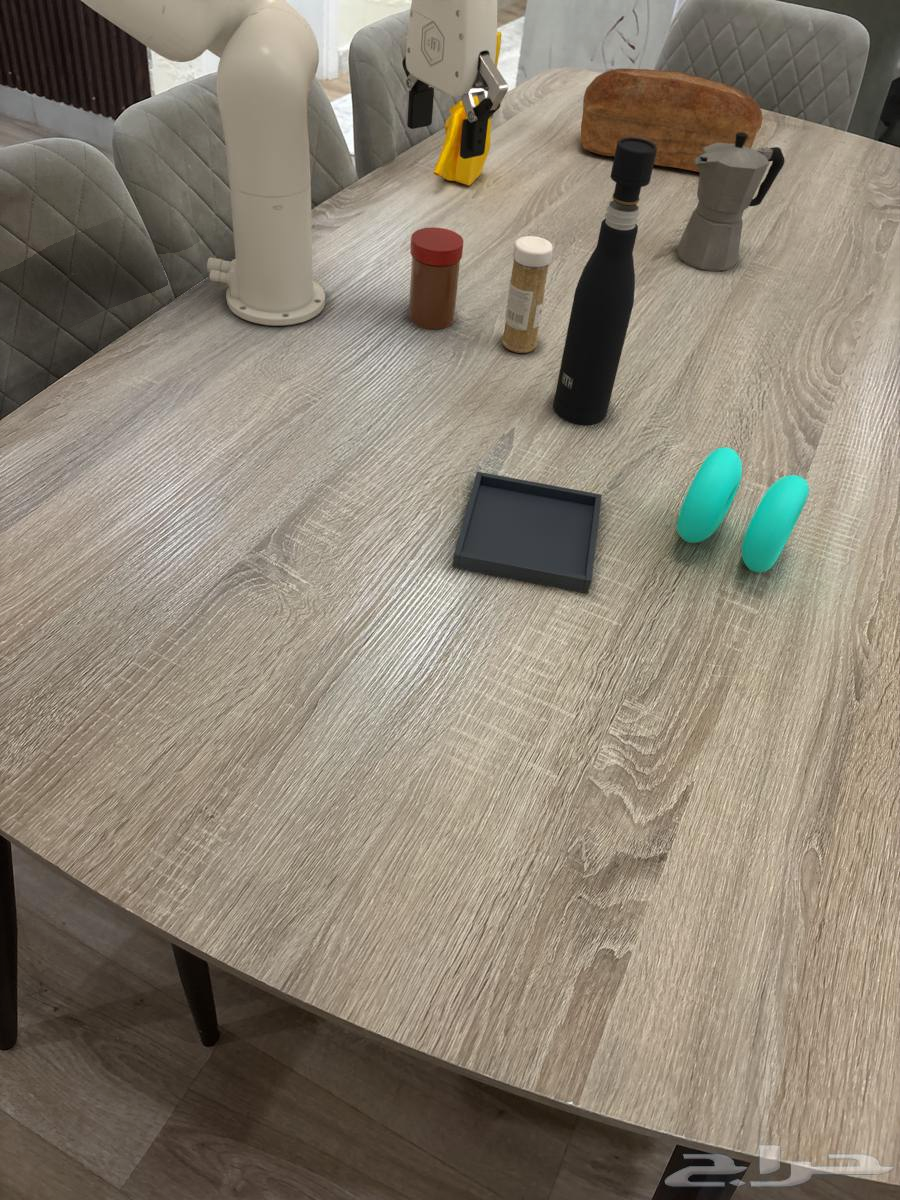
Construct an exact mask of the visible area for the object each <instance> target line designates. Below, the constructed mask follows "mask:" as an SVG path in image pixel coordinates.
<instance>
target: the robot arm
mask: <svg viewBox="0 0 900 1200" xmlns="http://www.w3.org/2000/svg"><path fill="white" fill-rule="evenodd" d="M80 2H83V3H84V4H85V5H86V6H88V7H89V8H90V9H92V10H93V11H94V12H95V13H97V14H98V15H100V16H102V17H103V18H105V19H106V20H107V21H109V22H110V23H112V24H114V25H115V26H117V27H118V28H119V29H120V30H122V31H123V32H125V33H127V34H128V35H129V36H131V37H132V38H134V39H136V40H137V41H138V42H140V43H141V44H142V45H144V46H145V47H146V48H148V49H149V50H151V51H152V52H154V53H155V54H157V55H158V56H160V57H163V58H165V59H167V60H168V61H171V62H176V63H187V62H192V61H194V60H196V59H197V58H199V57H201V56H202V55H203V54H204V53H205V52H206V51H209V52H210V53H212V54H213V55H215V56H216V57H218V58H219V62H218V66H217V72H216V84H215V85H216V97H217V98H216V99H217V103H218V104H217V105H218V109H219V114H220V115H219V116H220V120H221V125H222V131H223V137H224V143H225V152H226V162H227V165H226V166H227V173H228V182H229V184H228V185H229V196H230V207H231V220H232V231H233V243H234V257H235V259H234V258H233V259H232V260H231V261H229V260H224V258H223V259H222V258H218V257H217V258H216V257H211V256H209V258H208V259H207V262H206V271H207V272H208V274H209V281H210V282H214V283H223V284H226V285H227V286H228V287H227V290H226V292H225V293H226V294H225V295H226V296H225V297H226V304H227V306H228V308H229V310H230V311H231V312H232V313H233V314H234V315H236V316H237V317H239V318H240V319H243V320H245V321H248V322H251V323H253V324H258V325H263V326H272V327H273V326H274V327H278V326H280V327H281V326H283V327H284V326H291V325H292V326H293V325H297V324H303V323H305V322H308V321H309V320H311V319H314V318H315V317H317V316H318V315H319V314H320V313H321V312H322V311H323V310H324V308H325V305H326V292H325V290H324V288H323V287H322V286H321V284H319V283H318V282H317V281H315V280H314V271H313V270H314V268H313V266H314V265H313V225H312V222H313V221H312V220H313V219H312V181H311V151H310V138H309V127H308V96H309V93H310V90H311V87H312V84H313V82H314V80H315V77H316V75H317V72H318V68H319V67H318V66H319V61H320V51H319V50H320V49H319V45H318V40H317V38H316V35H315V32H314V30H313V29H312V27H311V25H310V23H309V22H308V21H307V20H306V18H304V16H303V15H302V14H301V13H300V12H298V10H297V9H295V8H294V7H293V6H292V5H290V4H289V3H288V2H286V1H285V0H80ZM410 3H411V4H410V10H409V19H408V26H407V33H406V34H404V35H402V36H400V37H399V39H398V45H399V48H400V53H401V57H402V67H403V68H402V69H403V71H404V73H405V75H406V76H405V77H406V79H405V86H406V88H407V89H408V104H407V121H406V122H407V123H406V126H407V127H408V129H411V130H414V129H420V128H424V127H429V126H431V125H432V123H433V114H434V113H433V111H434V99H435V90H437V91H439V92H441V93H443V94H445V95H447V96H449V97H451V98H461V101H462V102H463V105H464V108H465V111H466V115H467V118H468V119H464V120H463V123H462V133H461V144H460V157H462V158H463V159H467V158H472V157H476V156H480V155H483V154H484V152H485V143H486V135H487V126H488V119H491V120H492V118H493V117H494V114H495V113H496V112H497V111H498V110H500V108H501V106H502V105H501V104H502V102H503V100H504V98H505V97H506V95H507V93H508V91H509V85H508V83H507V82H506V80H505V78H504V77H503V75H502V73H501V72H500V71H499V69H498V66H497V67H496V66H495V56H496V43H497V31H498V0H411V2H410ZM487 91H488V92H487ZM474 96H477V97H478V100H479V104H478V105H477V106H475V103H474V100H473V97H474Z"/></svg>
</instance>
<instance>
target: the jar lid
mask: <svg viewBox="0 0 900 1200" xmlns="http://www.w3.org/2000/svg"><path fill="white" fill-rule="evenodd" d="M409 249H410V256H411V257H412V256H413V258H415V259H416V260H417V261H419V262H422V263H424V264H428V265H434V266H447V265H452V264H455V263H457V262H458V261H460V262H461V260H462V258H463V252H464V238H463V236H461V234H459V233H457V232H456V231H453V230H451V229H448V228H444V227H443V228H442V227H434V226H433V227H431V226H430V227H423V228H420V229H417V230H415V231H414V232H413V233H412V234H411V236H410V248H409Z"/></svg>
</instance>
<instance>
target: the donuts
mask: <svg viewBox="0 0 900 1200" xmlns="http://www.w3.org/2000/svg"><path fill="white" fill-rule="evenodd" d="M742 475H743V462H742V460H741V457H740V455H739V454H738V453H737V452H736V450H735V449H732V448H731V447H727V446H723V447H718V448H716V449H714V450H712V451H711V452H710V453H709V454H708V455H707V457H706V458H705V460H704V461H703V462H702V463H701V465H700V467H699V469H698V471H697V472H696V473H695V476H694V478H693V479H692V481H691V484H690V486H689V488H688V490H687V492H686V494H685V497H684V499H683V502H682V504H681V507H680V510H679V513H678V517H677V520H676V521H677V522H676V531H677V533H678V536H679V537H680V538H681V539H682V540H683V541H685V542H687V543H691V544H697V543H701V542H703V541H705V540H707V539H708V538H710V537H711V536H712V535H713V534H714V533H715V532H716V531H717V530H718V528H719V527H720V526H721V524H722V522H723V521H724V519H725V517H726V516H727V513H728V512H729V510H730V508H731V505H732V503H733V501H734V499H735V497H736V494H737V492H738V490H739V487H740V484H741V480H742ZM809 494H810V487H809V483H808V482H807V480H806V479H804V478H803V476H800V475H797V474H789V475H784V476H782V477H780V478H779V479H777V480H775V481H774V483H772V484H771V485H770V486H769V488H768V489H767V490H766V491H765V493H764V495H763V496H762V498H761V500H760V502H759V503H758V505H757V507H756V509H755V511H754V512H753V515H752V517H751V519H750V521H749V523H748V526H747V528H746V531H745V533H744V536H743V538H742V539H743V540H742V544H741V557H742V560H743V563H744V565H745V567H746V568H748V569H749V570H750V571H752V572H755V573H764V572H767V571H769V570H770V569H772V568H773V567H774V565H775V563H776V562H777V561H778V559H779V557H780V555H781V553H782V551H783V550H784V548H785V546H786V544H787V542H788V540H789V538H790V537H791V535H792V532H793V530H794V529H795V526H796V525H797V522H798V520H799V518H800V516H801V513H802V511H803V510H804V507H805V505H806V502H807V500H808V498H809V496H810V495H809Z"/></svg>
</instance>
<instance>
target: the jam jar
mask: <svg viewBox="0 0 900 1200" xmlns="http://www.w3.org/2000/svg"><path fill="white" fill-rule="evenodd" d="M460 264H461V260H460V261H458V262H457V263H455V264H452V265H447V266H434V265H428V264H424V263H422V262H419V261H417V260H416V259H415V258H413V256H412V255H411V265H410V267H411V268H410V284H409V301H408V319H409V321H410V322H411V323H412V324H414V325H415V326H417V327H419V328H422V329H428V330H443V329H446V328H448V327H450V326H451V325H453V323H454V322H455V317H456V305H457V296H458V286H459V274H460Z"/></svg>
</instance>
